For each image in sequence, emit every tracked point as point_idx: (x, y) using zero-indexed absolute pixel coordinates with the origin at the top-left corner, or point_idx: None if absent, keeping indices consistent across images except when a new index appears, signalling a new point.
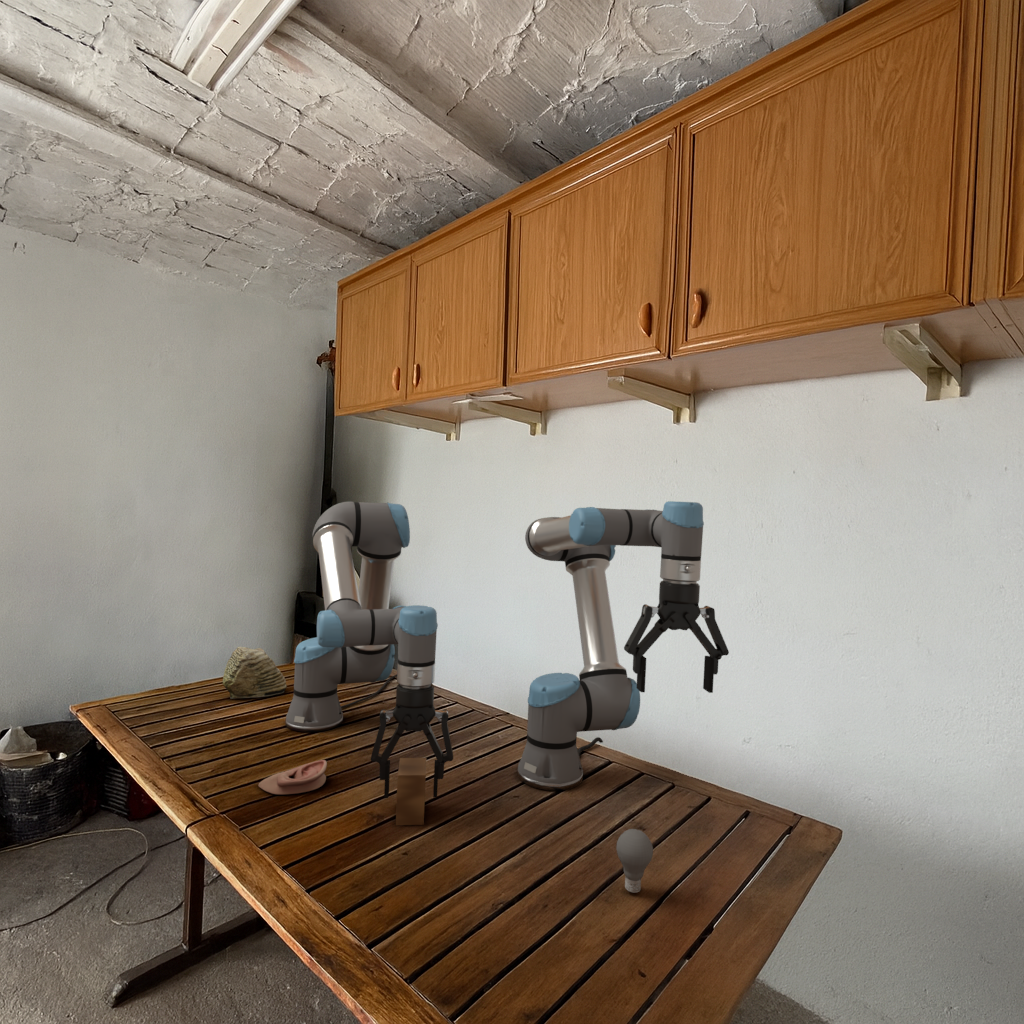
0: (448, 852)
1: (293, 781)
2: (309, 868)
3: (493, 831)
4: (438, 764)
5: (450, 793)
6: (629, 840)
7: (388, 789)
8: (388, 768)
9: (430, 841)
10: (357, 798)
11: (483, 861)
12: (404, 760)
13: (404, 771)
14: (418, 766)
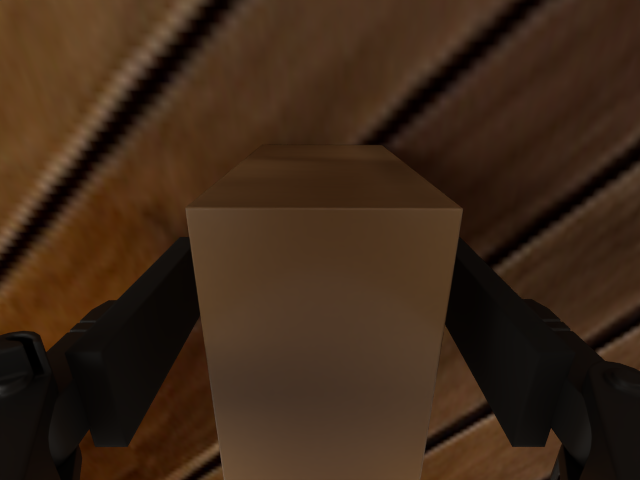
0: (435, 436)
1: None
2: (80, 477)
3: (605, 348)
4: (549, 419)
5: (527, 22)
6: None
7: (194, 306)
8: (133, 426)
9: None
10: (50, 69)
11: (520, 470)
12: (239, 267)
13: (265, 447)
14: (372, 384)
